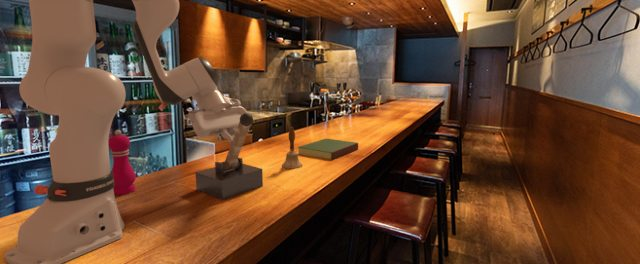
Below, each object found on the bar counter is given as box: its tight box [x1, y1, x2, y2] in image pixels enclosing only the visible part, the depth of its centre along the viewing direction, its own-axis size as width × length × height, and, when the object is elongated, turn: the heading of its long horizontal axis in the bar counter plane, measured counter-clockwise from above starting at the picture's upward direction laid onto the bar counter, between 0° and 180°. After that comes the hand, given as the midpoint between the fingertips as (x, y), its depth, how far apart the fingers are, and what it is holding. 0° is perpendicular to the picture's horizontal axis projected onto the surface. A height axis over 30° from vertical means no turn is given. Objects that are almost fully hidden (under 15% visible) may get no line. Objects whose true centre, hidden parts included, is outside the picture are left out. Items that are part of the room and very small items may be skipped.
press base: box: [195, 157, 264, 201], centre depth 112 cm, size 14×16×9 cm
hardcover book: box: [297, 138, 359, 161], centre depth 164 cm, size 25×19×4 cm
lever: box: [220, 112, 254, 171], centre depth 107 cm, size 4×6×22 cm
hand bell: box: [281, 126, 303, 170], centre depth 138 cm, size 8×8×16 cm
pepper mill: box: [108, 129, 137, 196], centre depth 108 cm, size 7×7×20 cm
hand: (234, 141), depth 108 cm, fingers closed, pressing on lever
